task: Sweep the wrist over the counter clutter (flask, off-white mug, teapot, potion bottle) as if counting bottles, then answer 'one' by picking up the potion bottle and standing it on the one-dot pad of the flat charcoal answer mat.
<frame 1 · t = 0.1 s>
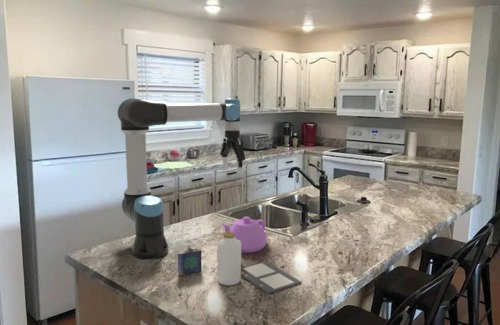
hand: (232, 171, 210), 28 cm above the counter, fingers open, 13 cm apart
potion bottle: (229, 281, 150), on the counter
answer mat: (266, 277, 154), on the counter
teapot: (244, 247, 183), on the counter
mug: (231, 263, 166), on the counter
flask: (189, 273, 156), on the counter
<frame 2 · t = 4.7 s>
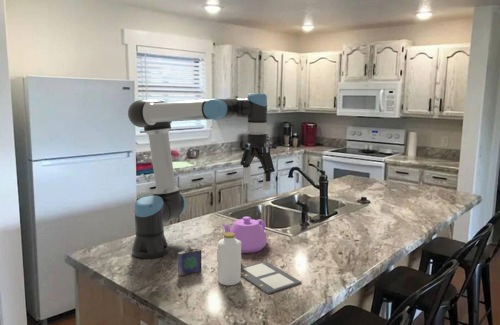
hand: (256, 186, 166), 31 cm above the counter, fingers open, 13 cm apart
nothing on the counter moved.
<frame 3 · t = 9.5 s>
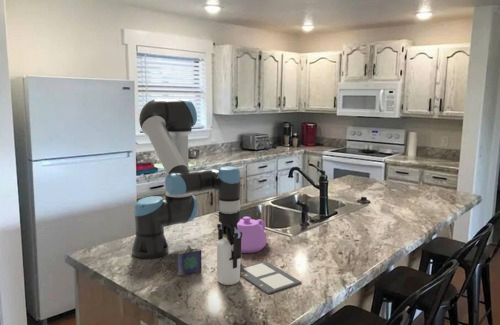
hand: (229, 273, 149), 3 cm above the counter, fingers open, 4 cm apart
potion bottle: (228, 281, 150), on the counter, touching gripper, hand
everything else where it was.
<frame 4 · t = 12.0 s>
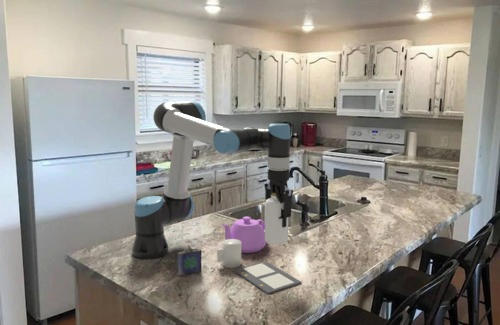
hand: (277, 233, 146), 19 cm above the counter
potion bottle: (276, 242, 147), point 15 cm above the counter, touching gripper, hand
everything else where it was.
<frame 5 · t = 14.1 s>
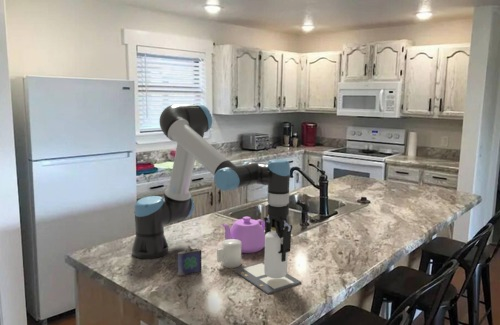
hand: (276, 266, 149), 6 cm above the counter
potion bottle: (275, 274, 150), point 3 cm above the counter, touching gripper, hand
everything else where it was.
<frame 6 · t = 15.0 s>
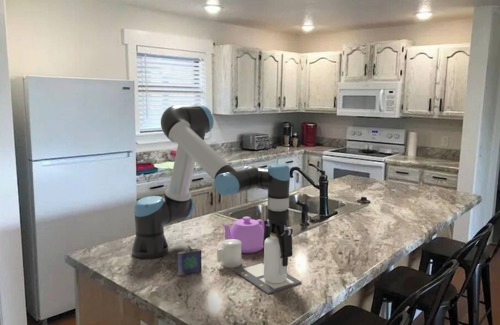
hand: (276, 269, 149), 5 cm above the counter, fingers open, 7 cm apart
potion bottle: (275, 280, 150), resting on answer mat
everything else where it was.
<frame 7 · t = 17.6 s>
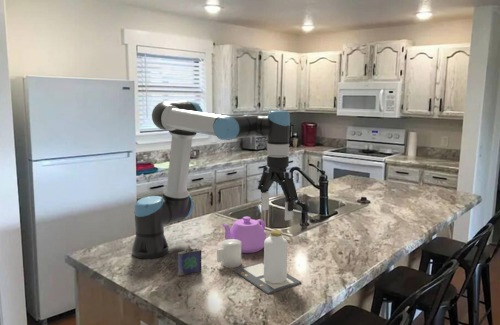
hand: (276, 214, 147), 25 cm above the counter, fingers open, 13 cm apart
nothing on the counter moved.
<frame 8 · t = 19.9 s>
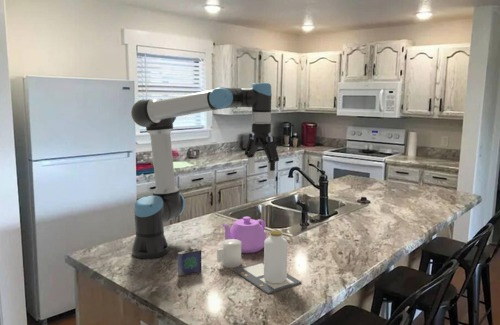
hand: (260, 175, 166), 35 cm above the counter, fingers open, 13 cm apart
nothing on the counter moved.
at the end: potion bottle inside the target area (1.1 cm from its centre), point 0.5 cm above the counter; potion bottle tilted 0°; the gripper is holding nothing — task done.
